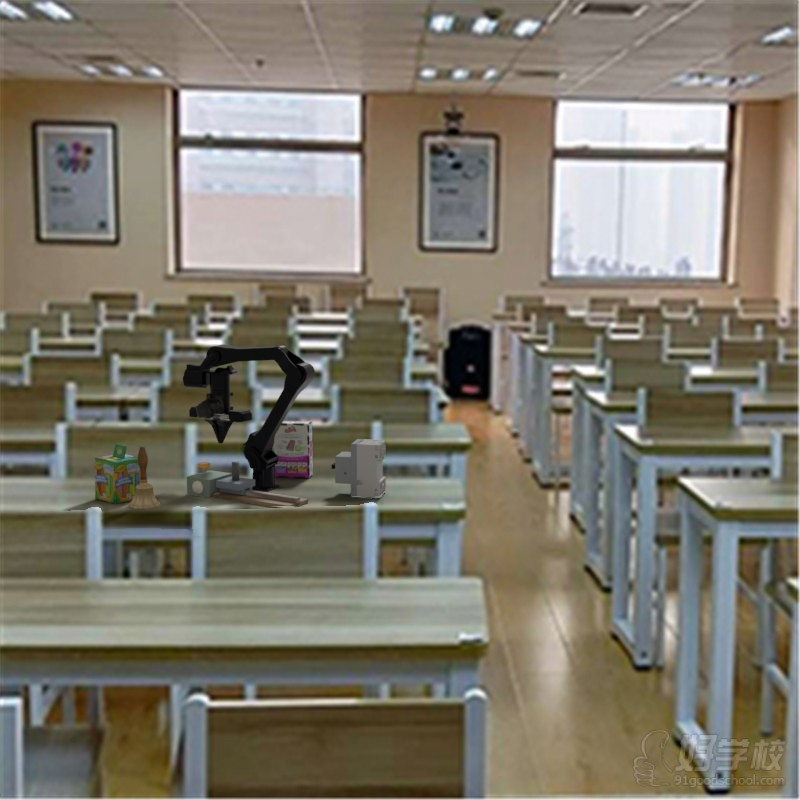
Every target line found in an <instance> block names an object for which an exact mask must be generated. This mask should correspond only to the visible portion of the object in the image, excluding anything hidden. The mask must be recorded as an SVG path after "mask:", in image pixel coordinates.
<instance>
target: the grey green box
mask: <svg viewBox="0 0 800 800" xmlns="http://www.w3.org/2000/svg"><path fill="white" fill-rule="evenodd" d="M231 476H232V472H227V471H226V472H224V471H219V470H218V471H217V470H213V469H212V470H209V469H208V470H206V472H205V473H202V472H199V473H195V474H192V475H191V474H190V475H188V476H186V492H187V493H186V495H189V496H194V497H195V496H196V497H202V498H208V499H210V498H211V494H212V493H216V492H219V488H218V487H216V481H217V480H221V479H224V478H228V477H231Z"/></svg>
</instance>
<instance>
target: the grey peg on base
mask: <svg viewBox="0 0 800 800" xmlns="http://www.w3.org/2000/svg"><path fill="white" fill-rule="evenodd" d="M231 473H232V476H231V477H228V478H224V479H221V480H217V481H216V487H218V488H220V492H225V493H232V494H238V495H245V489H247V490H253V488H252V487H253V486H255V479H253V478H247V477H241V476H240V461H232V462H231Z"/></svg>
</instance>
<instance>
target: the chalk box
mask: <svg viewBox="0 0 800 800" xmlns="http://www.w3.org/2000/svg"><path fill="white" fill-rule="evenodd" d="M113 449H114V450H113V454H110V455H103V456H97V457H94V466H95V467H94V468H95V469H94V473H95V477H94V478H95V479H94V483H95V485H94V486H95V487H94V489H95V491H94V492H95V494H94V497H95V500H96V499H97V500H100V501H103V502H108V503H111V504H114V505H116V504H121V503H124V502H131V501H132V500H133V498H134V495H135V487H136V486H137V485H139V484H140V483H141V479H140V478H141V477H140V467H139V464H138V456H135V455H132V454H127V453H126V452H127V446H126V445H123V444H118V443H116V444H115V446H114V448H113ZM119 450H121V453H118V451H119Z"/></svg>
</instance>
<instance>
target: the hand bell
mask: <svg viewBox="0 0 800 800" xmlns="http://www.w3.org/2000/svg"><path fill="white" fill-rule="evenodd" d="M137 457H138V464H139V467H140V477H141V478H140V479H141V483H140V484H139V485H137V486H136V487H135V495H134V498H133V500H131V501H129V503H128V507H129V508H130V509H134V510H150V509H155V508H158V507H160V506H161V502H160V500H158V499H157V498H156V496H155V492H154V486H153V485H152V484H150V483H149V482H148V477H147V467H148V464H149V462H148V461H149V458H148V457H149V456H148V453H147V450H146V447H145V446H139V449H138V454H137Z"/></svg>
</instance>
